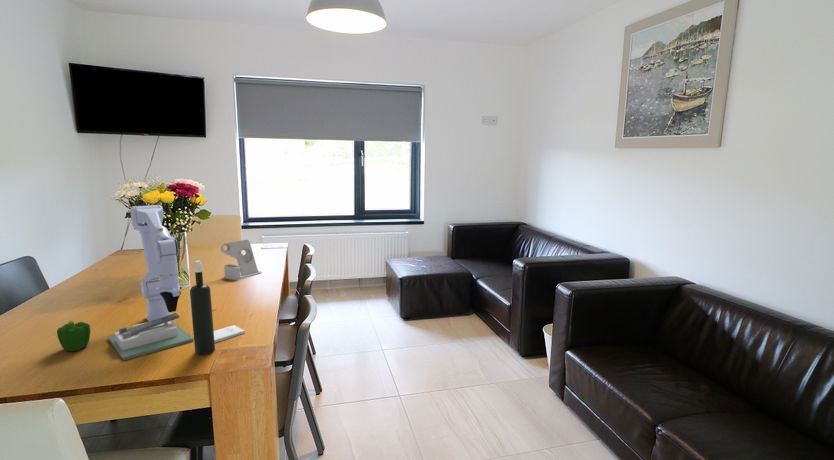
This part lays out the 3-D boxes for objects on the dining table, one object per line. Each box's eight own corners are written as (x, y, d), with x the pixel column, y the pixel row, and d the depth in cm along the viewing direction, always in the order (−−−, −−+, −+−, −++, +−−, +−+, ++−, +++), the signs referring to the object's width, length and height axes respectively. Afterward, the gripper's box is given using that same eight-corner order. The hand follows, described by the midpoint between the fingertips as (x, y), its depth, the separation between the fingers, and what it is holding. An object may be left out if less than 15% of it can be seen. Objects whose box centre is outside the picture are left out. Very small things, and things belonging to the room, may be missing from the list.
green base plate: (108, 339, 145) (106, 323, 144) (172, 323, 159) (171, 309, 159) (123, 360, 130) (121, 343, 129) (193, 341, 144) (191, 325, 143)
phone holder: (234, 280, 215) (231, 246, 212) (222, 277, 221) (219, 243, 218) (262, 273, 230) (260, 240, 227) (251, 270, 235) (249, 238, 232)
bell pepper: (71, 343, 142) (67, 314, 141) (97, 342, 143) (93, 314, 141) (52, 354, 134) (47, 324, 132) (79, 354, 134) (75, 324, 133)
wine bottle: (191, 352, 136) (183, 261, 131) (208, 346, 141) (201, 258, 136) (201, 357, 133) (193, 264, 128) (218, 350, 138) (211, 260, 133)
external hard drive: (199, 339, 147) (233, 328, 157) (210, 346, 142) (245, 334, 151) (198, 334, 147) (233, 324, 156) (209, 341, 142) (244, 330, 151)
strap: (125, 336, 138) (124, 334, 137) (122, 333, 140) (121, 330, 140) (179, 317, 149) (179, 315, 149) (175, 314, 152) (175, 312, 151)
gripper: (149, 272, 149) (153, 308, 151) (161, 280, 139) (165, 319, 141) (171, 268, 154) (175, 304, 156) (185, 276, 143) (188, 314, 146)
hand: (172, 311), depth 149 cm, fingers closed
